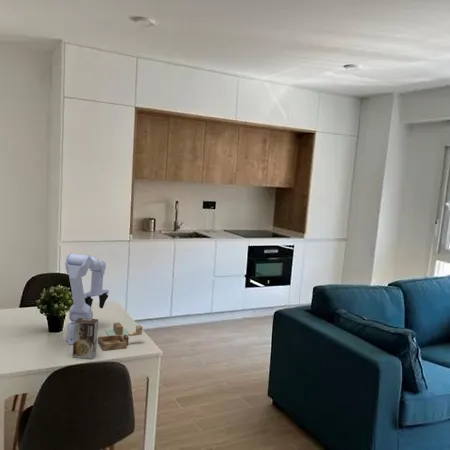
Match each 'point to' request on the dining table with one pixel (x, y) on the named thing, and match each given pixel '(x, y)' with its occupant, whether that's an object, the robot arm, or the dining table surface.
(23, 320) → the dining table surface
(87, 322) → the cookie box
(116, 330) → the toolbox lid
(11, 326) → the dining table surface
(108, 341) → the toolbox
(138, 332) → the mallet
